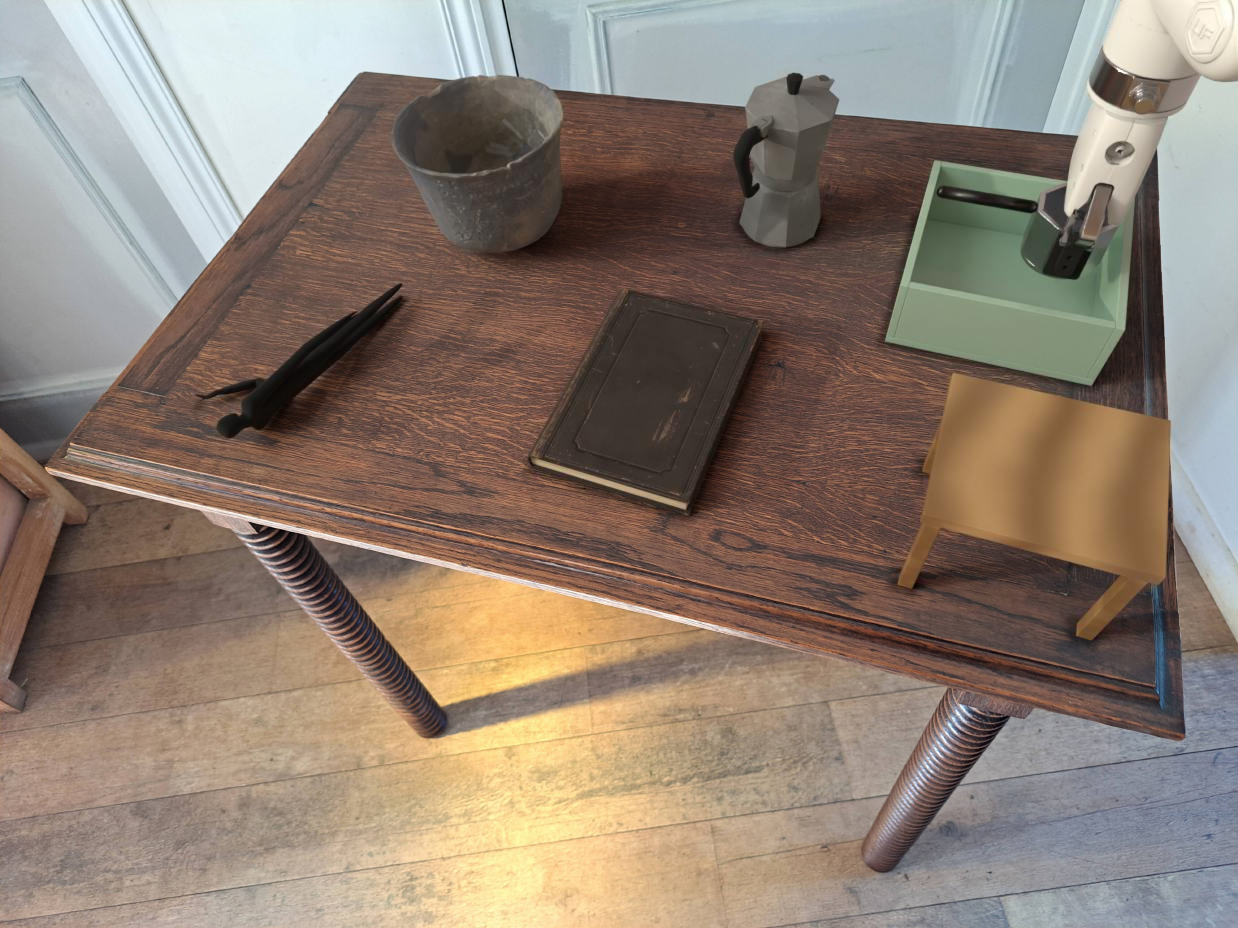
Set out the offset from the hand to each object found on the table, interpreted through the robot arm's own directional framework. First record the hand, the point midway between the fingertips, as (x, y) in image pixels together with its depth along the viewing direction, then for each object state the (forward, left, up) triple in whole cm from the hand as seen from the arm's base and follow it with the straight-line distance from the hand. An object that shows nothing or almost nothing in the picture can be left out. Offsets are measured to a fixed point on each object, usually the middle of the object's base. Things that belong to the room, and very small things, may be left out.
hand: (1063, 247), depth 82 cm
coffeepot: (+29, -4, -8) cm, 30 cm away
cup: (+59, +6, -8) cm, 60 cm away
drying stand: (0, +30, -7) cm, 31 cm away
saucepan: (+5, 0, -1) cm, 5 cm away
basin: (+4, 0, -7) cm, 8 cm away
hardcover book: (+34, +24, -8) cm, 42 cm away
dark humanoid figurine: (+71, +30, -8) cm, 77 cm away
